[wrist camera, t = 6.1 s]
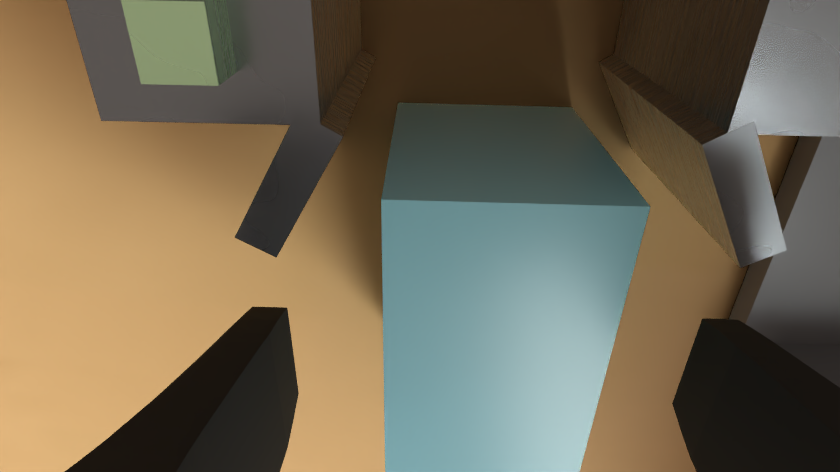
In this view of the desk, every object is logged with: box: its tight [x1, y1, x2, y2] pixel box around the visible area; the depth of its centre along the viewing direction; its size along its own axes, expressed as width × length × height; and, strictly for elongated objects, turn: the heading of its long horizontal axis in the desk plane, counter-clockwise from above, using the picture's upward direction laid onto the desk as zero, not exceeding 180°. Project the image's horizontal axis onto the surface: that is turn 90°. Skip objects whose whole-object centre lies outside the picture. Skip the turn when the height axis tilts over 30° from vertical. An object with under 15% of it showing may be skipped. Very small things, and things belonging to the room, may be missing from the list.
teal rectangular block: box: [381, 103, 650, 472], centre depth 11 cm, size 7×4×4 cm, turn 179°
